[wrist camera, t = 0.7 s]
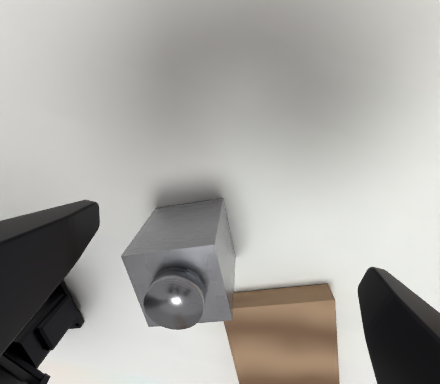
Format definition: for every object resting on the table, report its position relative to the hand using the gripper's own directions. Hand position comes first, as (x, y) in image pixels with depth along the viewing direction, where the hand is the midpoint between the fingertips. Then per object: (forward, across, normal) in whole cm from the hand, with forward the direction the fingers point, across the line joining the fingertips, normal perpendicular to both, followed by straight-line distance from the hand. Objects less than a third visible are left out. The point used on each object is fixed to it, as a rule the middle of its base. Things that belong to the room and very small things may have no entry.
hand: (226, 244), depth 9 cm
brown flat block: (+12, -9, +23) cm, 28 cm away
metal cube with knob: (+12, +3, +9) cm, 15 cm away
